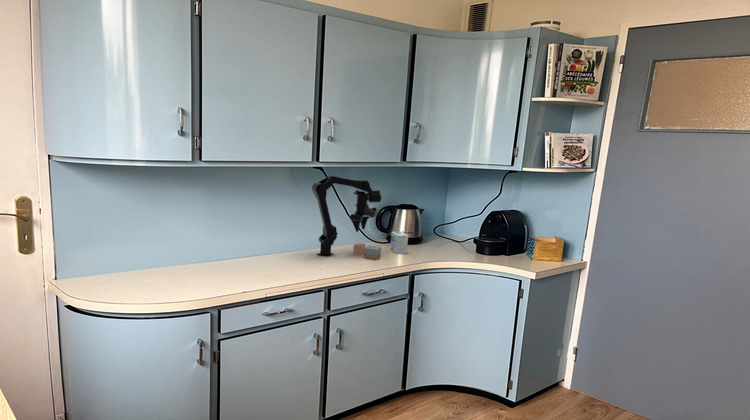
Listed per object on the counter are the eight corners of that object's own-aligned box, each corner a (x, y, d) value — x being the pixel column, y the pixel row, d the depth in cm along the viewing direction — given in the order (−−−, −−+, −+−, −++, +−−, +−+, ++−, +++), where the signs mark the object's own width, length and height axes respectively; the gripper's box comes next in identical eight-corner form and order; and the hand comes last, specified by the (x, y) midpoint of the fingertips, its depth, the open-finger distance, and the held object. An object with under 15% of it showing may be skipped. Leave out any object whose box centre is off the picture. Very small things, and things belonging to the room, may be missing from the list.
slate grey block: (376, 255, 264) (376, 249, 263) (364, 253, 266) (364, 247, 265) (380, 252, 270) (381, 247, 270) (368, 250, 272) (369, 245, 272)
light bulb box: (389, 249, 290) (391, 231, 289) (400, 249, 292) (402, 231, 291) (396, 254, 280) (397, 235, 278) (407, 253, 282) (408, 235, 281)
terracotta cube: (361, 254, 274) (362, 245, 273) (353, 253, 276) (353, 244, 275) (364, 252, 279) (365, 244, 278) (356, 251, 280) (357, 242, 280)
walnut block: (376, 260, 264) (376, 255, 264) (363, 258, 266) (364, 253, 266) (380, 257, 271) (380, 252, 270) (368, 256, 273) (368, 250, 272)
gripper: (369, 206, 261) (368, 235, 264) (381, 202, 279) (379, 229, 281) (350, 204, 265) (348, 232, 268) (362, 200, 282) (361, 227, 285)
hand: (360, 230), depth 275 cm, fingers open, 9 cm apart
